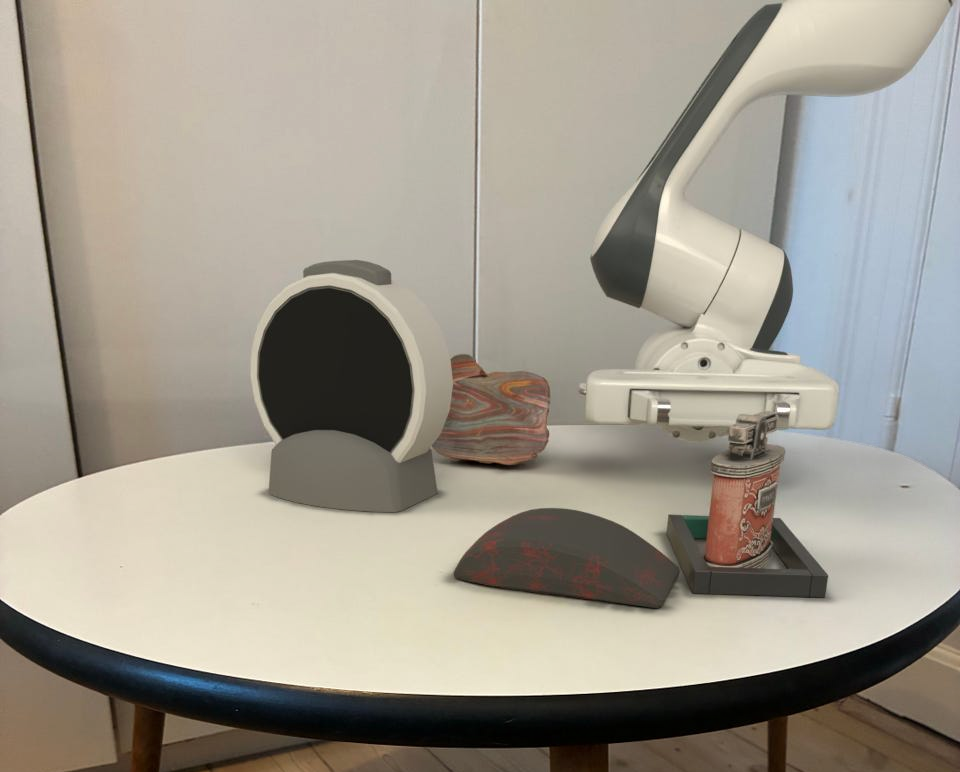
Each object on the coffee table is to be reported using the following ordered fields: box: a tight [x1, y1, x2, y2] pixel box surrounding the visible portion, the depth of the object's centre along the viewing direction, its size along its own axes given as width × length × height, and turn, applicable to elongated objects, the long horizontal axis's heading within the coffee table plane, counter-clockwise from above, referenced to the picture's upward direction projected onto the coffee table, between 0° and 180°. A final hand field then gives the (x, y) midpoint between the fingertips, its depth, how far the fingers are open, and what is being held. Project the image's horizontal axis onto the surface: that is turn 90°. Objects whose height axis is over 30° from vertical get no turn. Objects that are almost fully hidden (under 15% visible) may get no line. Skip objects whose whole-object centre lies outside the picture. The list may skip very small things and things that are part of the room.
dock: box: [666, 514, 829, 598], centre depth 69 cm, size 8×13×2 cm, turn 177°
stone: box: [431, 353, 551, 466], centre depth 96 cm, size 13×8×10 cm
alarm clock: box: [249, 259, 453, 513], centre depth 82 cm, size 16×10×18 cm, turn 65°
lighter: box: [703, 411, 786, 568], centre depth 68 cm, size 8×3×10 cm, turn 145°
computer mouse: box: [453, 507, 681, 609], centre depth 65 cm, size 8×14×4 cm, turn 71°
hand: (723, 415), depth 77 cm, fingers open, 8 cm apart
